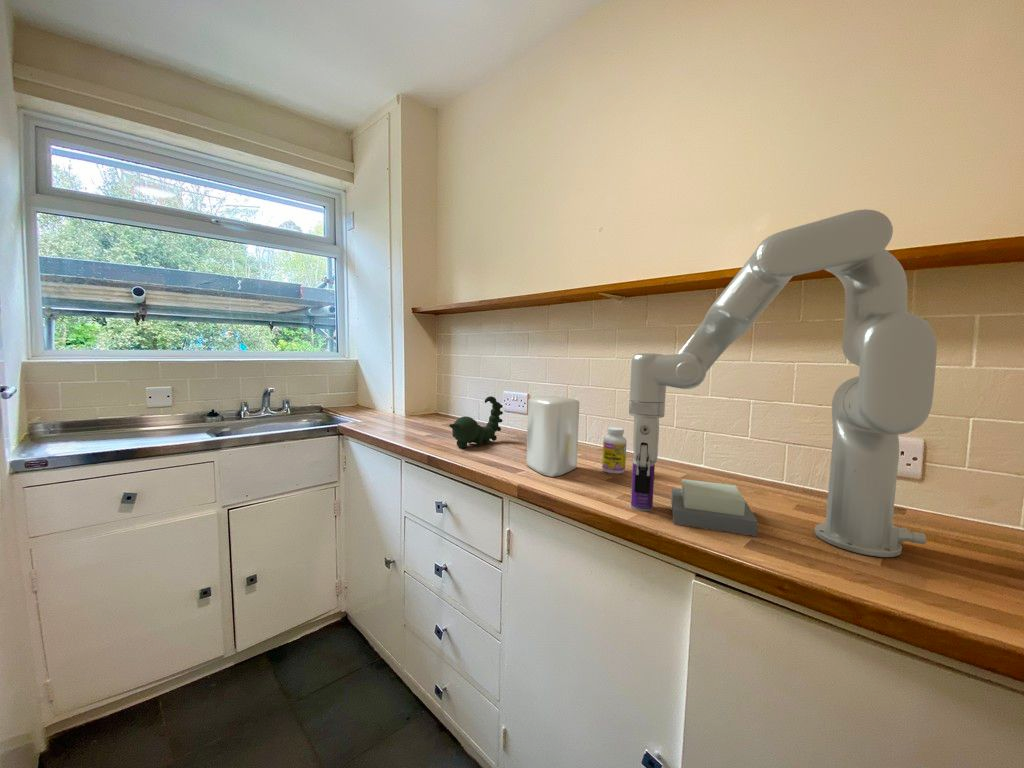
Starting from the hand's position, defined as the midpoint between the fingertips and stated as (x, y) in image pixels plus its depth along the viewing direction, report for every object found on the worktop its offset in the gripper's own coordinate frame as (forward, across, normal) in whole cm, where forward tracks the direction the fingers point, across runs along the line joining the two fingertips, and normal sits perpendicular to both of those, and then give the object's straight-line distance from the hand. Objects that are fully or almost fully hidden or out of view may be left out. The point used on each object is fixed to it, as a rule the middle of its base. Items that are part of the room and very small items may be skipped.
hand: (642, 488), depth 93 cm
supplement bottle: (+5, +28, +9) cm, 30 cm away
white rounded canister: (+5, +20, +26) cm, 33 cm away
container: (+5, 0, 0) cm, 5 cm away
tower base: (+4, 0, -14) cm, 15 cm away
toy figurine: (+5, +41, +60) cm, 73 cm away
